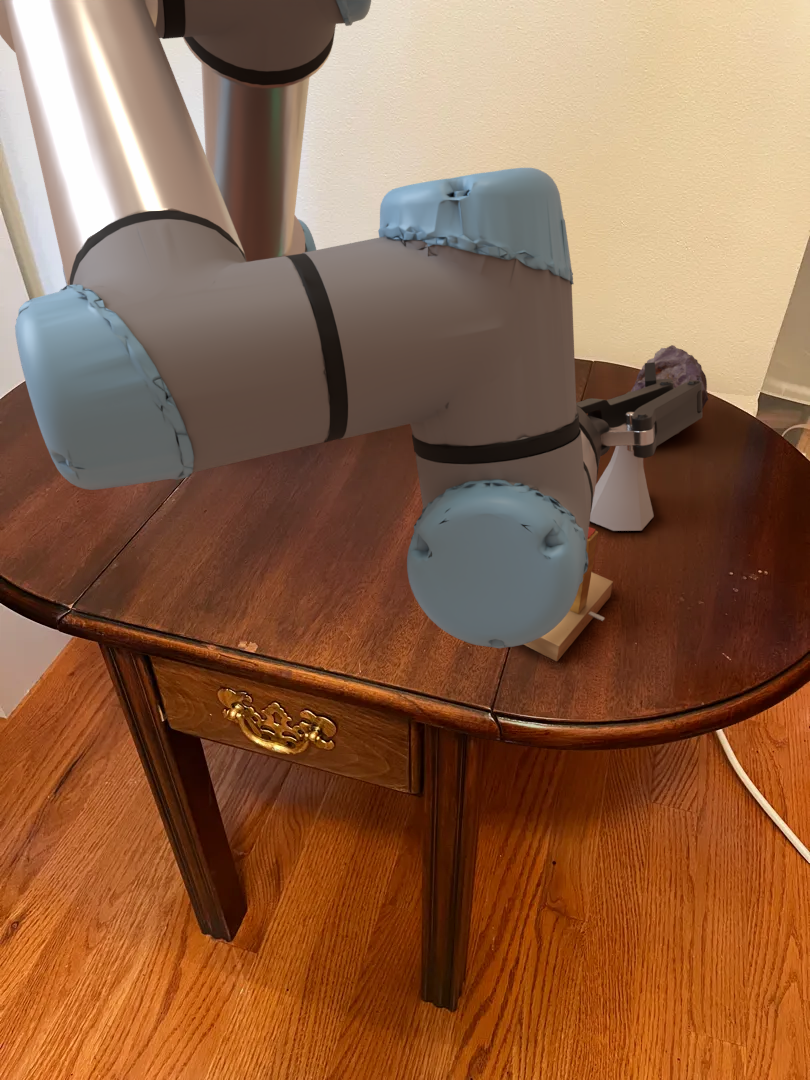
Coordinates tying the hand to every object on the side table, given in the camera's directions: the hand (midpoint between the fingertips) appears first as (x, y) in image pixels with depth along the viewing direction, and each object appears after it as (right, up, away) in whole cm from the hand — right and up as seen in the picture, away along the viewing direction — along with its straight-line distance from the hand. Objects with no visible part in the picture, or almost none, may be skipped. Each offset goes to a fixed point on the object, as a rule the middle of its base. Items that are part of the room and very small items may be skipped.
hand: (562, 387), depth 67 cm
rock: (+18, +1, +33) cm, 38 cm away
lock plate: (-1, -18, +11) cm, 21 cm away
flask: (+10, -9, +21) cm, 25 cm away
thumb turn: (-1, -16, +10) cm, 19 cm away
